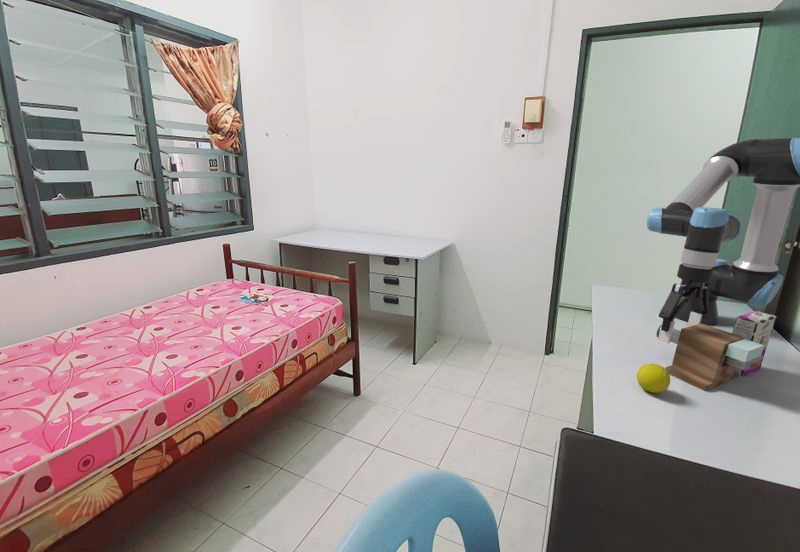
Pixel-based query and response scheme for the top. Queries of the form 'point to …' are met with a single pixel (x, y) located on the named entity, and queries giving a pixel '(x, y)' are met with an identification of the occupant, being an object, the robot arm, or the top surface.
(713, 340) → the bearing block
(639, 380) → the tennis ball
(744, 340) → the block
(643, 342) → the top surface
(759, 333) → the candy bar box
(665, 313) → the robot arm
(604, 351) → the top surface
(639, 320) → the top surface
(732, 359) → the shaft
